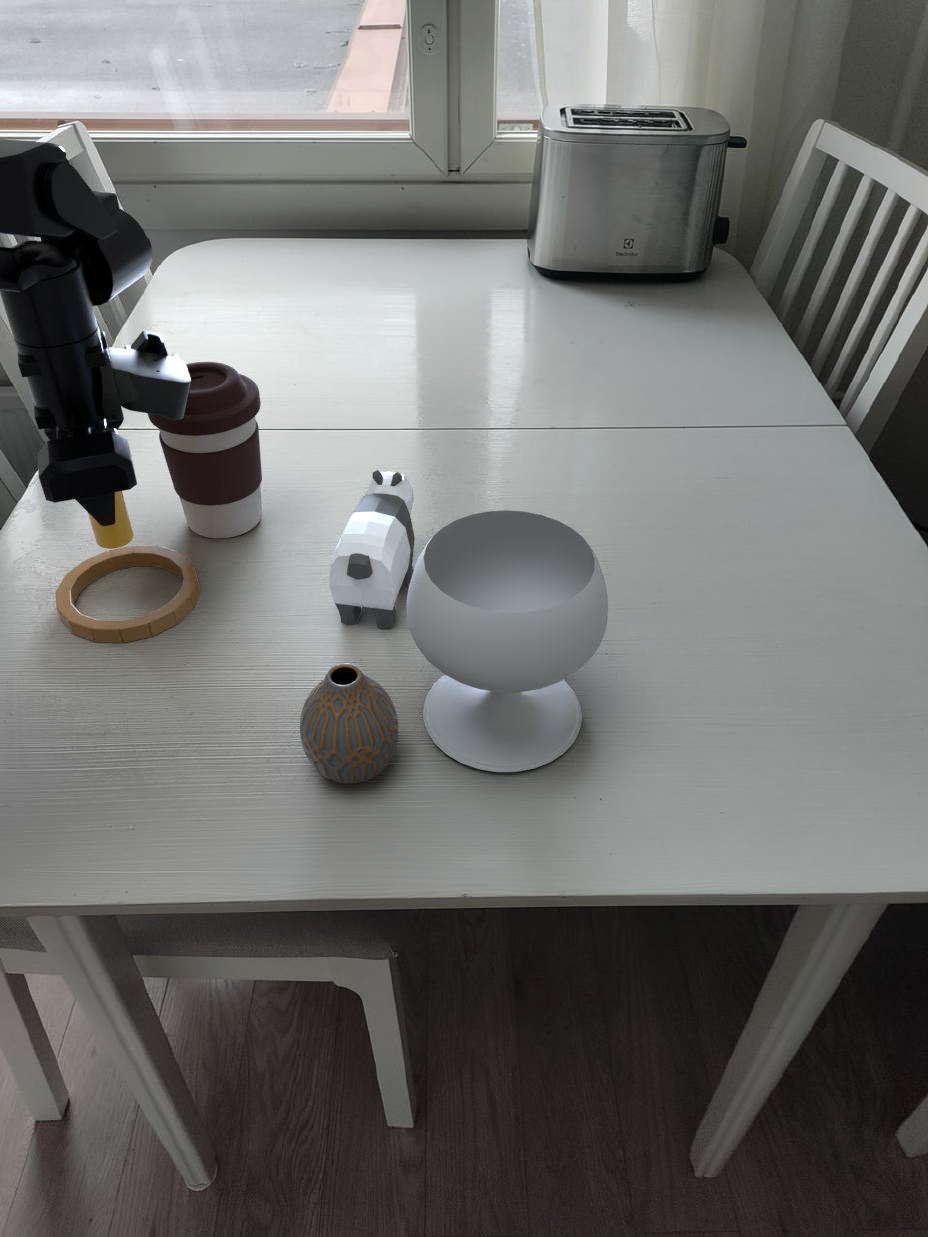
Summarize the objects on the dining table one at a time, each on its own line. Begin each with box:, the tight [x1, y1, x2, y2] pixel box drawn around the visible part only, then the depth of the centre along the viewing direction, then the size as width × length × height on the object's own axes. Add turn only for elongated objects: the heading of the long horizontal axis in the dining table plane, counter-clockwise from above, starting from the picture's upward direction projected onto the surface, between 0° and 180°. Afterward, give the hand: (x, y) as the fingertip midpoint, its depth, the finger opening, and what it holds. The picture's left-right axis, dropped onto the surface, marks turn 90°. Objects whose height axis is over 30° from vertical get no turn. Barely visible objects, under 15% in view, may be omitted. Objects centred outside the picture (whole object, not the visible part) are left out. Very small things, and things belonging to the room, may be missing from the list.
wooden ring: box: [55, 545, 201, 644], centre depth 84 cm, size 12×12×2 cm
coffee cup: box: [147, 361, 263, 539], centre depth 89 cm, size 10×10×15 cm
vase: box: [299, 662, 399, 785], centre depth 67 cm, size 7×7×9 cm
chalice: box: [406, 509, 609, 773], centre depth 69 cm, size 14×14×15 cm
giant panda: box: [329, 469, 416, 630], centre depth 83 cm, size 15×6×10 cm, turn 170°
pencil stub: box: [87, 491, 134, 550], centre depth 77 cm, size 3×3×9 cm
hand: (107, 513), depth 78 cm, fingers closed on pencil stub, 3 cm apart
